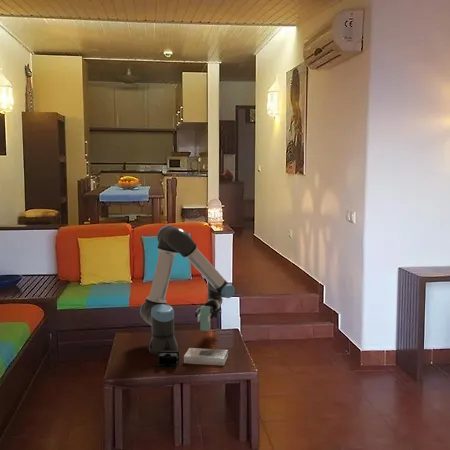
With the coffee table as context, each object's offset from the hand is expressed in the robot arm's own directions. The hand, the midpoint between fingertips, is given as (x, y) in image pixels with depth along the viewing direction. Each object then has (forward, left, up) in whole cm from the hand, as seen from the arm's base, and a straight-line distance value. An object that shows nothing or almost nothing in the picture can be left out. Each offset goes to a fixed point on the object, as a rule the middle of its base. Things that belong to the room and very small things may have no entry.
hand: (203, 319), depth 291 cm
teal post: (-1, +5, -7) cm, 9 cm away
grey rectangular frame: (+5, -9, -18) cm, 20 cm away
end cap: (-10, -21, -18) cm, 29 cm away
